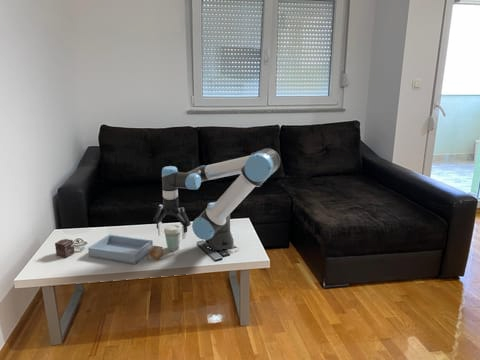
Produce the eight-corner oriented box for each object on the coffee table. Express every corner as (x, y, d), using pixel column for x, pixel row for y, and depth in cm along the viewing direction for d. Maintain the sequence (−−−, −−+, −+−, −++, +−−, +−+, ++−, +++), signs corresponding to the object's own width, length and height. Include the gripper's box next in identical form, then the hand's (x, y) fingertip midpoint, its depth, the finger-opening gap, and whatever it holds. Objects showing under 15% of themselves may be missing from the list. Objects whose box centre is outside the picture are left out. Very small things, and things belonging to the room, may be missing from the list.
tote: (153, 249, 196) (152, 240, 195) (134, 264, 181) (134, 254, 179) (110, 242, 204) (109, 234, 202) (89, 257, 188) (88, 247, 187)
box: (65, 258, 187) (63, 244, 185) (56, 256, 189) (54, 243, 187) (74, 253, 192) (73, 240, 190) (65, 251, 194) (63, 238, 192)
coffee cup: (178, 253, 192) (177, 231, 188) (162, 251, 193) (161, 230, 190) (184, 246, 200) (183, 224, 197) (168, 244, 201) (167, 223, 198)
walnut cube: (163, 256, 189) (162, 246, 188) (158, 260, 185) (157, 251, 183) (154, 254, 191) (153, 245, 189) (149, 259, 186) (148, 249, 185)
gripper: (196, 197, 189) (197, 236, 195) (152, 192, 196) (154, 230, 202) (190, 202, 182) (191, 242, 188) (144, 196, 189) (146, 235, 195)
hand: (172, 236), depth 195 cm, fingers open, 13 cm apart
